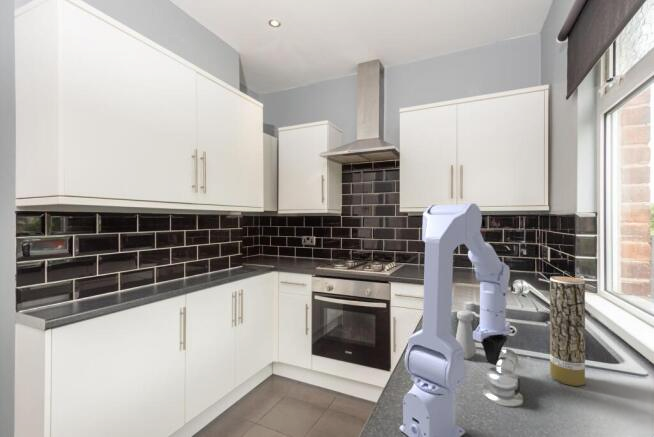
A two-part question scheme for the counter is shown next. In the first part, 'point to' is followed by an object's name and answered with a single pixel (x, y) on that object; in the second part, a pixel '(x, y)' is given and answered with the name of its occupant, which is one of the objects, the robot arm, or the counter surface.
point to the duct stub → (503, 395)
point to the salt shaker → (466, 334)
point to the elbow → (504, 372)
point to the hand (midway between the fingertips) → (492, 363)
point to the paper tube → (567, 330)
